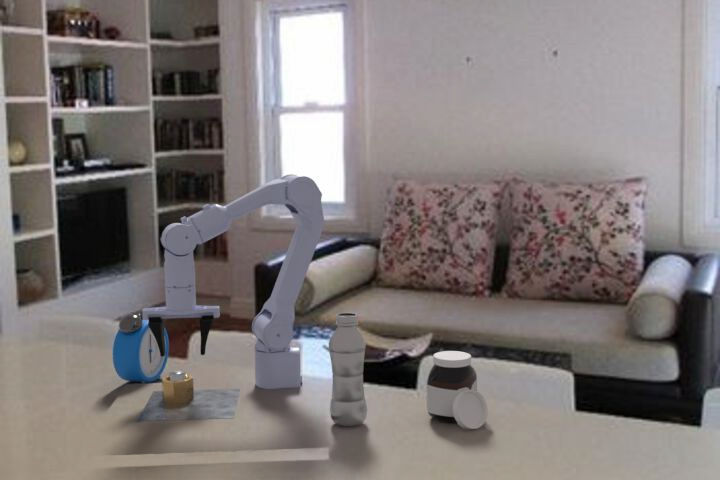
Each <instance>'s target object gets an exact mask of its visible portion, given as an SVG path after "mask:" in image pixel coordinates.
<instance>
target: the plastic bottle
mask: <svg viewBox="0 0 720 480" xmlns="http://www.w3.org/2000/svg"><path fill="white" fill-rule="evenodd" d="M358 318H359V317H358V314H357V313H355V312H339V313H337V314H336V318H335V319H336V321H335V326H337V327H336V329H335V330H334V332H333V333H332V335H331V336H330V338H329V341H328V350H329V351H328V352H329V357H330V362H331V373H332V377H331V378H332V388H331V389H332V391H331V399H330V404H329V413H330V418H331V420H332V421H333V423H334V424H335V425H339V426H344V427H353V426H358V425H361V424H363V423H364V422H365V421H366V419H367V413H368V407H367V401H366V398H365V397H366V396H365V388H364V374H363V373H364V364H365V363H364V362H365V354H366V340H365V338H364V336H363V334H362V333H361V332H360V331H359V329H358V328H357V326H358V325H359V319H358Z"/></svg>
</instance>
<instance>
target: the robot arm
mask: <svg viewBox="0 0 720 480" xmlns="http://www.w3.org/2000/svg"><path fill="white" fill-rule="evenodd" d="M322 198H323V194H322V192H321V190H320V188H319V186H318V184H317V183H316V182H315V180H314V179H312V178H311V177H309V176H306V175H297V174H291V173H290V174H286V175H284V176H282V177H280V178H275V179H273V180H271V181H269V182H266V183H264V184H262V185H260V186H258V187H257V188H254V189H253V190H251V191H249V192H248V193H246V194H245V195H242V196H240V197H239V198H237V199H235V200H232V202H229V203H228V204H226V205H224V206H222V205H220V204H217V203H213V204H208V203H207V204H205V205H203V206H202V210H200V211H197V212H196V213H193V214H192V215H190V216H188V217H187V216H185V215H184V216H183V217H180V221H181V223H180V222H174V223H171V224H168V225H167V226H166V227H165V228H164V230H163V231H162V233H161V237H160V239H159V240H160V243H161V245H162V246H163V248H164V263H163V265H164V288H165V290H164V291H165V306H159V307H158V306H156V307H146V308H145V307H144V308H143V309H141V310H142V313H143V320H149V323H148V326H149V328H150V329H151V331H152V333H153V335H154V337H155V339H156V341H157V344H158V347H159V351H160V356H165V354H166V348H165V338H164V327H165V319H192V318H193V319H194V318H196V319H198V318H200V319H199V331H200V332H199V333H200V349H199V350H200V356H205V355H206V347H207V341H208V338H209V334H210V331H211V327H212V325H213V323H214V320H215V319H218V318H220V316H221V313H220V311H221V310H220V309H221V308H220V305H197V295H196V294H197V293H196V268H195V261H194V250H195V249H196V246H197V245H202V244H204V243H207V242H208V241H209V240H212V239H214V238H216V237H217V236H220V235H221V234H223V233H226V232H227V231H229V229H230V228H231V225H232V222H233V221H235V220H237V219H239V218H241V217H244V216H245V215H248V214H249V213H252V212H254V211H256V210H258V209H259V210H260V209H261V208H263V207H265V206H267V205H281V206H284V207H286V208H287V209H288V210H289V212H290V214H291V215H292V217H293V219H294V220H293V221H295V223H296V227H295V230H294V232H293V234H292V235H293V236H292V238H291V241H290V243H289V247H288V249H287V251H286V254H285V257H284V258H283V262H282V265H281V268H280V270H279V273H278V276H277V278H276V281H275V284H274V286H273V289H272V292H271V295H270V297H269V298H268V299H267V300H266V301H265V302H264V304H263V306H262V308H261V310H260V312H259V313H258V314H257V315H256V316H255V317H254V319H253V320H252V323H251V331H252V334H253V336H254V337H255V338H256V342H255V345H254V371H255V372H254V375H255V378H254V379H255V382H254V383H255V386H256V387H258V388H261V389H266V390H277V389H286V388H301V384H303V374H301V348H300V347H299V346H296V347H295V346H291V344H292V341H293V338H294V337H293V336H294V329H293V327H294V326H293V325H294V323H295V322H294V321H295V319H296V317H295V316H296V313H295V307H296V306H295V305H296V302H297V300H298V298H299V295H300V292H301V289H302V287H303V284H304V281H305V278H306V276H307V273H308V270H309V268H310V265H311V262H312V260H313V257H314V254H315V253H316V252H315V251H316V248H317V246H318V243H319V241H320V238H321V234H322V232H323V229H324V227H325V219H324V218H325V217H324V212H323V206H322Z"/></svg>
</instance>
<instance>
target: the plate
mask: <svg viewBox="0 0 720 480" xmlns="http://www.w3.org/2000/svg"><path fill="white" fill-rule="evenodd" d="M168 373H169V374H168V375H169V377H170V381H183V380H186V377H185V374H186V371H183V370H173V371H170V372H168ZM193 390H194V398H193V399H191V400H189V401H187V402H180V403H170V402H164V400H163V397H162V390H159V391H157V390H155V391H153V392H152V394H151V395H150V397H149V399H148V401H147V403H146V404H145V405H144V408H143V410H142V411H141V412H140V415H139V417H138V419H137V420H136V421H137V422H158V421H160V422H161V421H162V422H163V421H165V422H166V421H191V420H196V421H197V420H220V419H221V420H222V419H234V418H235V414H236V408H237V405H238V401H239V395H240V391H241V388H224V389H222V388H221V389H219V388H218V389H193Z"/></svg>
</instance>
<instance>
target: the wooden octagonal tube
mask: <svg viewBox="0 0 720 480" xmlns="http://www.w3.org/2000/svg"><path fill="white" fill-rule="evenodd" d="M185 377H186V380H183V381H170V377H169V374H168V375H165V376H163V377H161V391H162V397H163V400H164V402H170V403H180V402H187V401H189V400H191V399H193V398H194V390H195V389H194V377H193V376H192V375H191V374H186V373H185Z"/></svg>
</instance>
